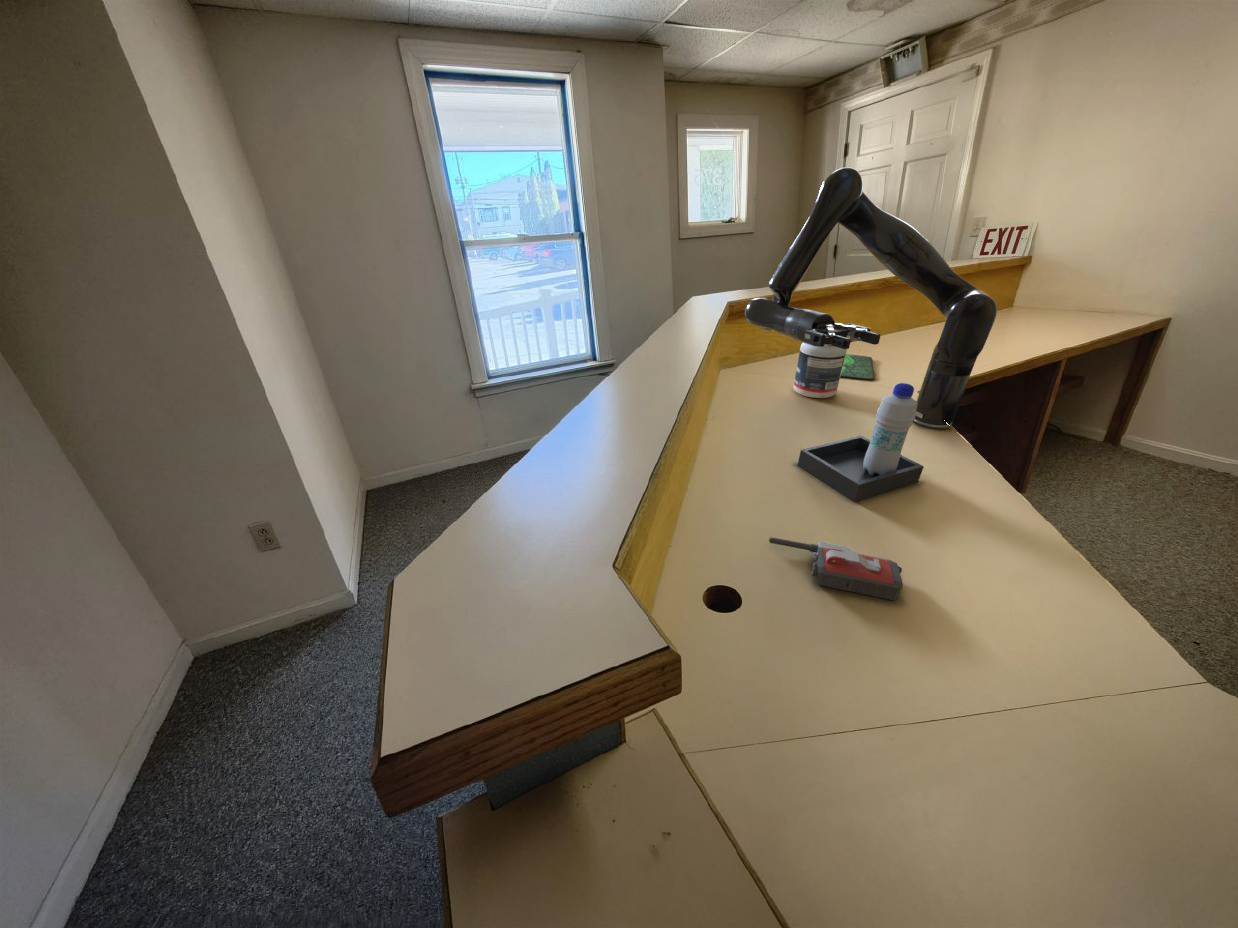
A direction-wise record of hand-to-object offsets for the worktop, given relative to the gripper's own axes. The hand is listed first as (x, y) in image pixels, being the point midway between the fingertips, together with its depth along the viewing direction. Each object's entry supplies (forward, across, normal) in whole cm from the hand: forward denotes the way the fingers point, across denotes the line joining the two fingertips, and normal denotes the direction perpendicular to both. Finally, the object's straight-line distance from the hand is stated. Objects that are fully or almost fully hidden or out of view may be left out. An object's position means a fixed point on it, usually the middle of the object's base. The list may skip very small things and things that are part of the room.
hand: (863, 342), depth 96 cm
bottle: (+13, -2, +25) cm, 28 cm away
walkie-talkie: (+31, -33, +26) cm, 52 cm away
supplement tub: (-32, +23, +26) cm, 47 cm away
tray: (+10, -5, +26) cm, 28 cm away
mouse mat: (-49, +51, +26) cm, 75 cm away
